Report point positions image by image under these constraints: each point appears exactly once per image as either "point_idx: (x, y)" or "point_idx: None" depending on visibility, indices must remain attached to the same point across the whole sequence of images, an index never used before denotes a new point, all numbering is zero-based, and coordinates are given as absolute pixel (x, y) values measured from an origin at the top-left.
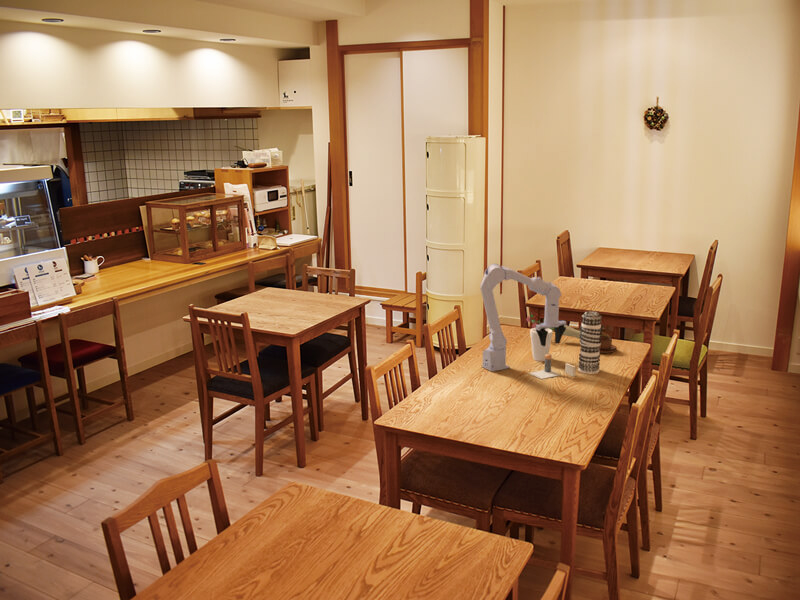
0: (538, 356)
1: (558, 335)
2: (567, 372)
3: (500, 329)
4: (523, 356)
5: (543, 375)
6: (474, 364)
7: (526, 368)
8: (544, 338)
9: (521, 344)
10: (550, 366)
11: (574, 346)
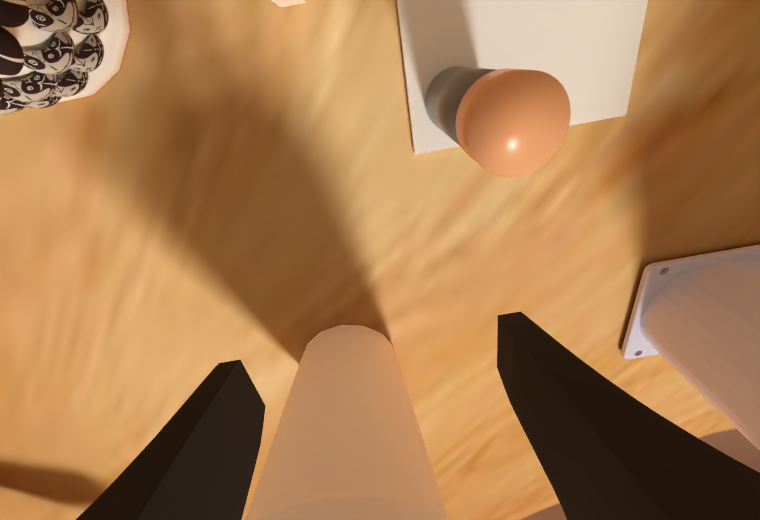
0: (386, 354)
1: (185, 515)
2: None
3: None
4: (421, 406)
5: None
6: None
7: (547, 231)
8: (652, 418)
9: None
10: (458, 72)
11: (62, 467)
